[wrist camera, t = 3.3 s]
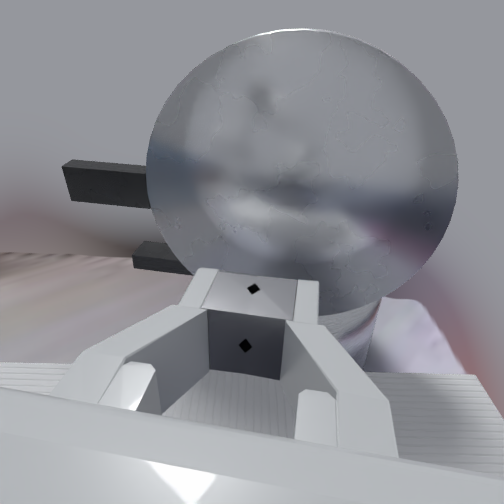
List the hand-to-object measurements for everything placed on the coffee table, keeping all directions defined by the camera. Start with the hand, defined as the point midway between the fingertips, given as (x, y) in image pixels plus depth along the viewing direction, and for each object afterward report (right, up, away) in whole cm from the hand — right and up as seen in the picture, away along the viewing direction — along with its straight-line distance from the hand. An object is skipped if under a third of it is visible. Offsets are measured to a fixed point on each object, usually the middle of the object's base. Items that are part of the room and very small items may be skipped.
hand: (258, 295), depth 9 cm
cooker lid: (0, +5, +14) cm, 15 cm away
